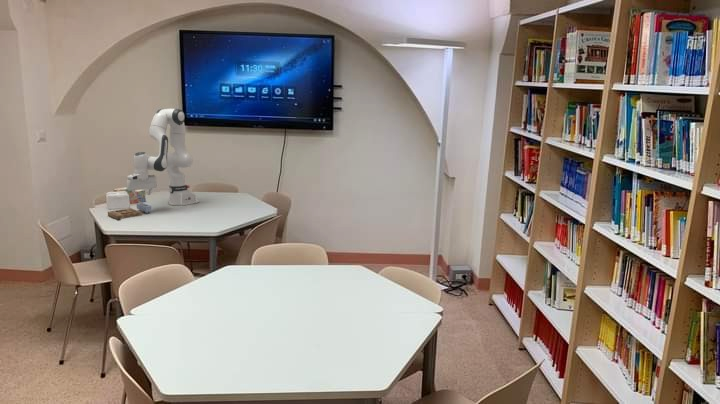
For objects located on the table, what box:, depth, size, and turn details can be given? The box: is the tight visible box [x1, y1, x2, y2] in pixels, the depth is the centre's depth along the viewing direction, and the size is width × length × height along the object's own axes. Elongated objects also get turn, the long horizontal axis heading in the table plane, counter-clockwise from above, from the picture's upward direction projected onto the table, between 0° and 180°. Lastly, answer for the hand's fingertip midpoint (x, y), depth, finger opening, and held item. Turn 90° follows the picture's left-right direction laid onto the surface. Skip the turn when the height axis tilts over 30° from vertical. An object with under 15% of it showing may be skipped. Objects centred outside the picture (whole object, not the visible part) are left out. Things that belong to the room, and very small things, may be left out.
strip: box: [136, 202, 152, 214], centre depth 358 cm, size 4×14×5 cm, turn 47°
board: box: [107, 207, 142, 221], centre depth 348 cm, size 16×16×3 cm
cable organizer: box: [105, 191, 131, 211], centre depth 368 cm, size 15×11×12 cm
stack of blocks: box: [113, 187, 147, 205], centre depth 385 cm, size 21×6×12 cm, turn 143°
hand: (142, 195), depth 355 cm, fingers open, 8 cm apart
